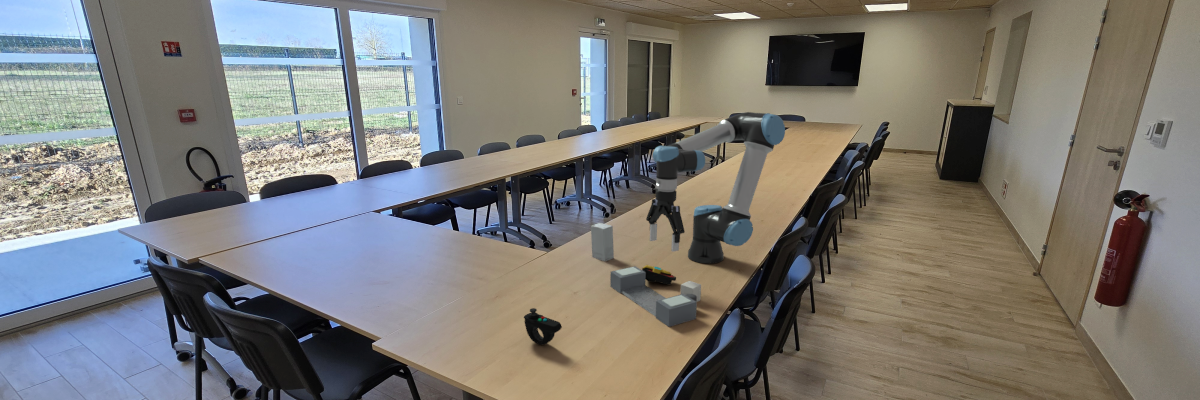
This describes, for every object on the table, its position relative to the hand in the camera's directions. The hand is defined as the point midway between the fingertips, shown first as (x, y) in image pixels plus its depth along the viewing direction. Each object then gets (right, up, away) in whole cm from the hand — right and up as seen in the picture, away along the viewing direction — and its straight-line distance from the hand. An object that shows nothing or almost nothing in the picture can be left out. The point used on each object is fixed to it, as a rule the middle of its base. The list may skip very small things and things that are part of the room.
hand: (663, 245), depth 187 cm
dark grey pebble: (+7, -20, -17) cm, 27 cm away
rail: (-6, -19, -11) cm, 22 cm away
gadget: (+1, -16, +4) cm, 17 cm away
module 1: (-13, -16, +1) cm, 21 cm away
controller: (-41, -26, -39) cm, 62 cm away
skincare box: (-23, -8, +31) cm, 40 cm away
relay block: (+8, -18, -10) cm, 22 cm away
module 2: (+1, -22, -23) cm, 32 cm away
